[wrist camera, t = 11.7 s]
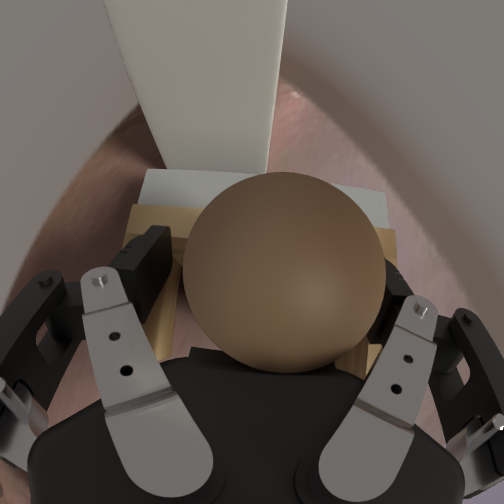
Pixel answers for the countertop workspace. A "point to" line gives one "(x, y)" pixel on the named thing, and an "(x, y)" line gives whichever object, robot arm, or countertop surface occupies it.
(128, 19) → the milk carton
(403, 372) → the robot arm
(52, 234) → the countertop surface
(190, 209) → the cradle
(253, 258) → the brown wooden cylinder
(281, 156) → the countertop surface
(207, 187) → the stone ledge
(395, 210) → the countertop surface
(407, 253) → the countertop surface
